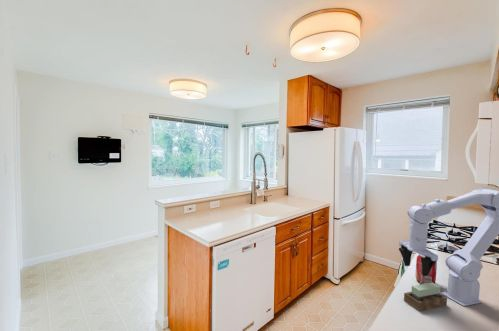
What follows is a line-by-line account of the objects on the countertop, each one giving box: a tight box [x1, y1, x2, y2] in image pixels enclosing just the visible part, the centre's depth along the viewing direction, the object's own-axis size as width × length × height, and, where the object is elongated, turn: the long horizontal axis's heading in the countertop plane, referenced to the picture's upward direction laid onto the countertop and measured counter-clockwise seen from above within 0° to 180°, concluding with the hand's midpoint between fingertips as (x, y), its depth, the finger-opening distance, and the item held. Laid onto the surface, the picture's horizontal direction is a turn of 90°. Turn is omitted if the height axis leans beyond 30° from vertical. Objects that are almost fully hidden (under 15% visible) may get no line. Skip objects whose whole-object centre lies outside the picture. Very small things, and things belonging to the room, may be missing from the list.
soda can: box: [415, 253, 438, 284], centre depth 101 cm, size 7×7×12 cm
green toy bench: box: [410, 283, 441, 301], centre depth 87 cm, size 10×3×6 cm, turn 105°
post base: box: [403, 291, 448, 312], centre depth 87 cm, size 13×6×3 cm, turn 105°
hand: (415, 270), depth 93 cm, fingers open, 7 cm apart
